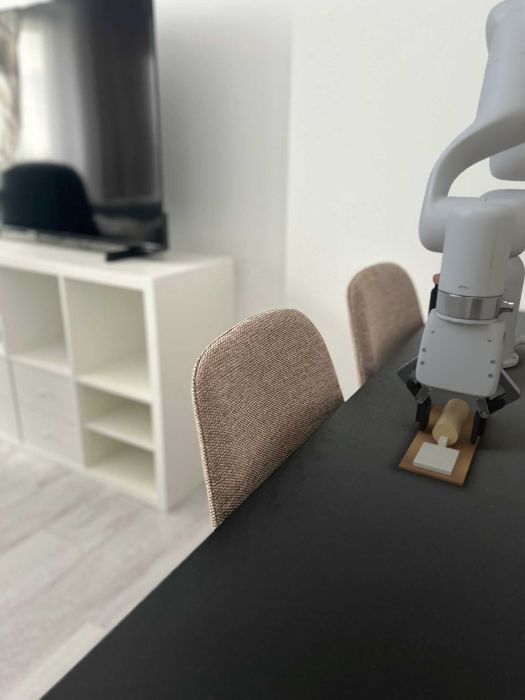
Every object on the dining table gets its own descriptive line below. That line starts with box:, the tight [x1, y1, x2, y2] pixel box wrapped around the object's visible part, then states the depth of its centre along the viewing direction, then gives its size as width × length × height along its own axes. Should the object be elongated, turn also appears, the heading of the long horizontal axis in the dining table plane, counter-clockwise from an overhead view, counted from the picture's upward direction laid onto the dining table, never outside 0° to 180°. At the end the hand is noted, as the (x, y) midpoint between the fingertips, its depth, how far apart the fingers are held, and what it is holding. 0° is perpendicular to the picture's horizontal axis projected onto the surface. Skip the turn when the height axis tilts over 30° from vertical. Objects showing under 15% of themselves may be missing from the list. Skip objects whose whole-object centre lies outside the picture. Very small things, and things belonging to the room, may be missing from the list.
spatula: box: [413, 398, 470, 476], centre depth 68 cm, size 16×4×3 cm, turn 150°
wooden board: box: [398, 404, 481, 487], centre depth 69 cm, size 20×8×1 cm, turn 150°
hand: (448, 432), depth 70 cm, fingers open, 6 cm apart
